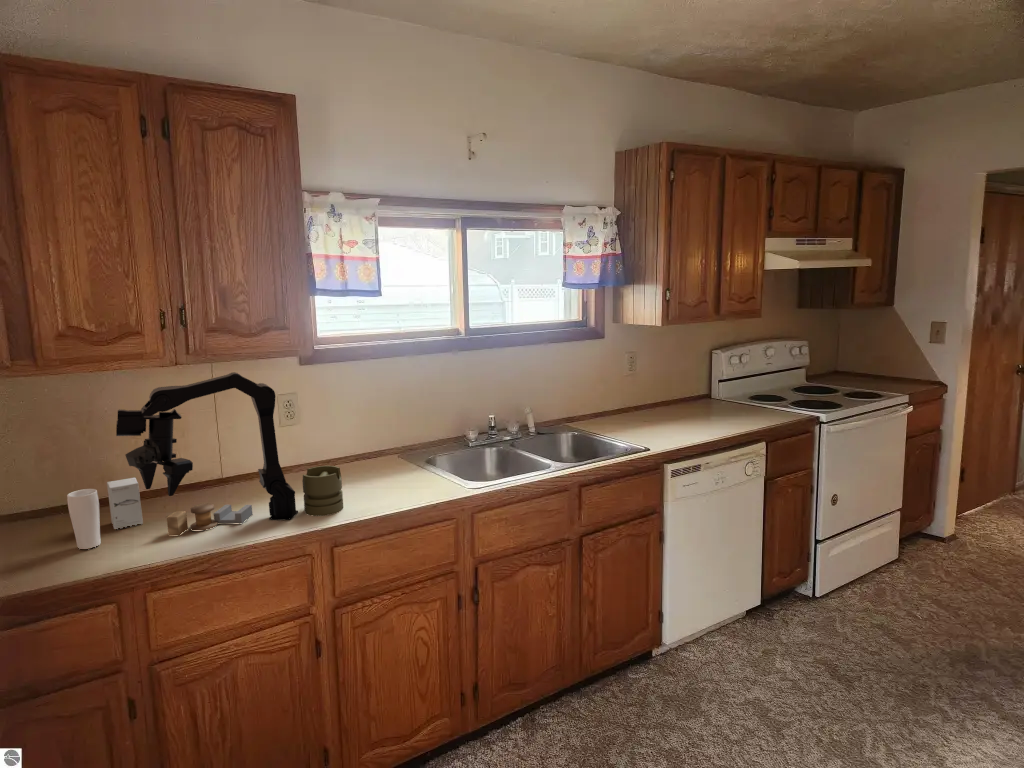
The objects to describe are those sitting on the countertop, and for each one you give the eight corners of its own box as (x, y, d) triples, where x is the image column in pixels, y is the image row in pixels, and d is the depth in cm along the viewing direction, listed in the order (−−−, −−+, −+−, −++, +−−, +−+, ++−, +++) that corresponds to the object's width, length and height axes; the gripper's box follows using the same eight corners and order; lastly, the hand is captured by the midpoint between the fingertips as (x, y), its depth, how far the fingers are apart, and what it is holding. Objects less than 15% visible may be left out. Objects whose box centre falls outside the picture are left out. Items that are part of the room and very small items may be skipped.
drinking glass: (71, 546, 174) (63, 493, 172) (100, 539, 179) (93, 486, 177) (77, 554, 170) (69, 498, 167) (107, 546, 174) (100, 492, 172)
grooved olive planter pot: (297, 477, 191) (306, 466, 202) (300, 516, 193) (309, 503, 204) (336, 476, 192) (343, 465, 203) (339, 515, 194) (346, 502, 205)
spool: (222, 521, 190) (220, 502, 189) (209, 531, 183) (207, 511, 182) (198, 521, 190) (196, 502, 189) (185, 531, 184) (183, 511, 183)
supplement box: (114, 530, 185) (108, 488, 183) (111, 523, 191) (106, 481, 189) (143, 524, 189) (138, 482, 187) (140, 517, 195) (135, 476, 193)
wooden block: (188, 529, 185) (186, 511, 184) (179, 536, 180) (177, 517, 179) (177, 529, 185) (175, 511, 184) (168, 536, 181) (166, 517, 180)
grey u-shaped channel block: (252, 515, 195) (251, 504, 195) (241, 524, 188) (240, 513, 188) (226, 514, 196) (225, 504, 195) (214, 523, 189) (213, 513, 188)
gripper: (108, 433, 171) (107, 491, 172) (155, 445, 163) (154, 506, 164) (148, 428, 181) (147, 483, 182) (195, 439, 173) (193, 496, 174)
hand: (159, 492), depth 176 cm, fingers open, 9 cm apart
